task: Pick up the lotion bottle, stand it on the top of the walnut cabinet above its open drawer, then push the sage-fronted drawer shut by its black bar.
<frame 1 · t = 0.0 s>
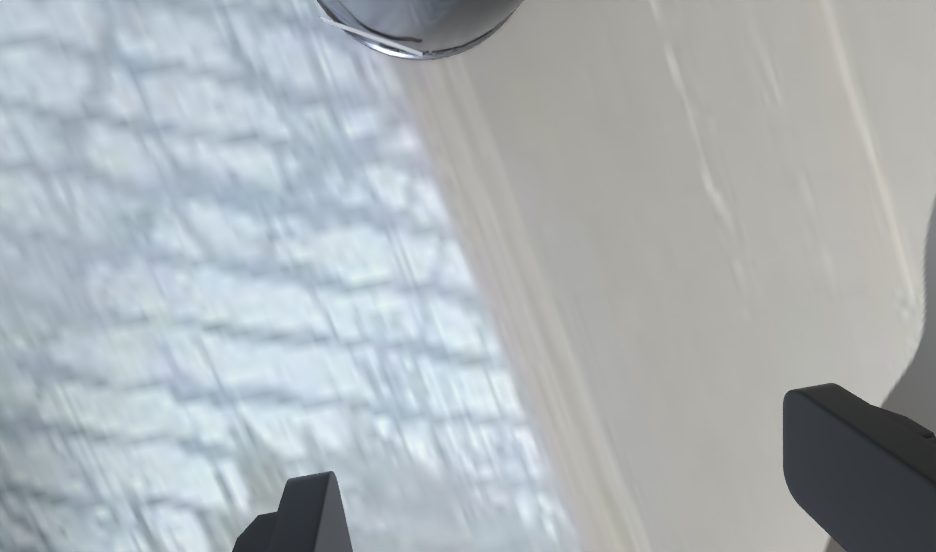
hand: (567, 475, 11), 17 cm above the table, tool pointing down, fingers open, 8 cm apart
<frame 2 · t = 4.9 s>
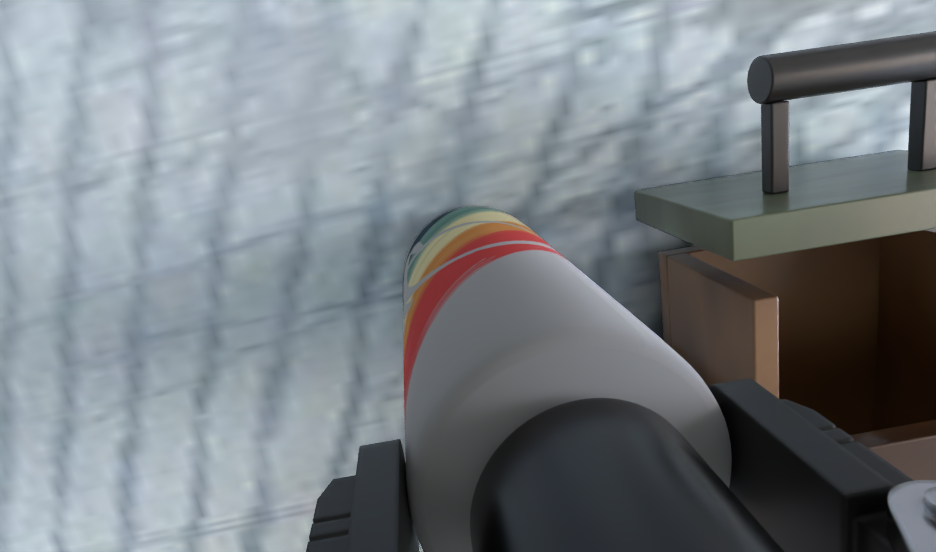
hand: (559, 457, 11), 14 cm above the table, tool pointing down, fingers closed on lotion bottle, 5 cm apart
cabinet: (759, 478, 29), on the table
lotion bottle: (472, 272, 25), on the table, touching gripper
drawer: (828, 308, 22), point 5 cm above the table, slide at 6.0 cm
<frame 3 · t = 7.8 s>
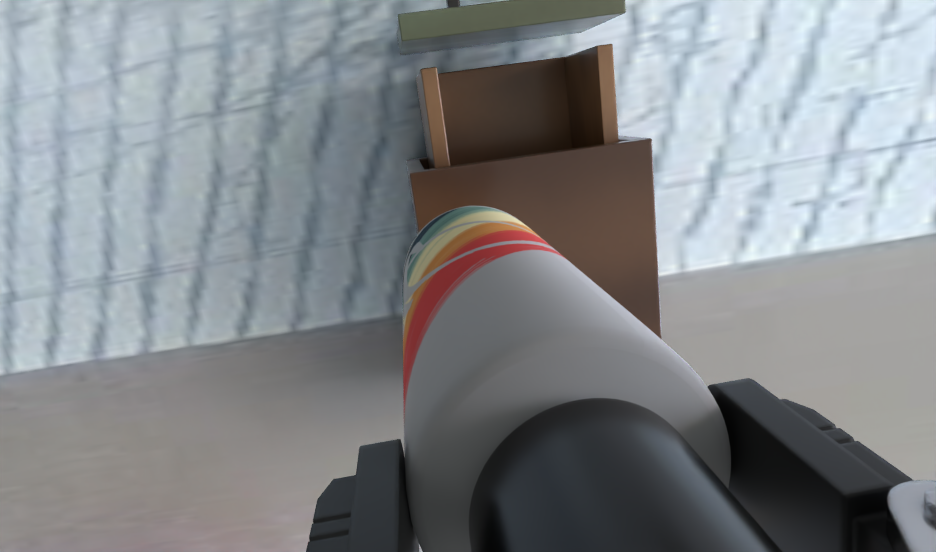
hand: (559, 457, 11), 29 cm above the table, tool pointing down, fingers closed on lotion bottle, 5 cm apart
cabinet: (513, 258, 41), on the table
lotion bottle: (472, 272, 25), point 15 cm above the table, touching gripper
drawer: (509, 103, 34), point 5 cm above the table, slide at 6.0 cm
when the fingers open (23 cm above the table, at t = 10.5 s): lotion bottle stays where it is, resting on cabinet.
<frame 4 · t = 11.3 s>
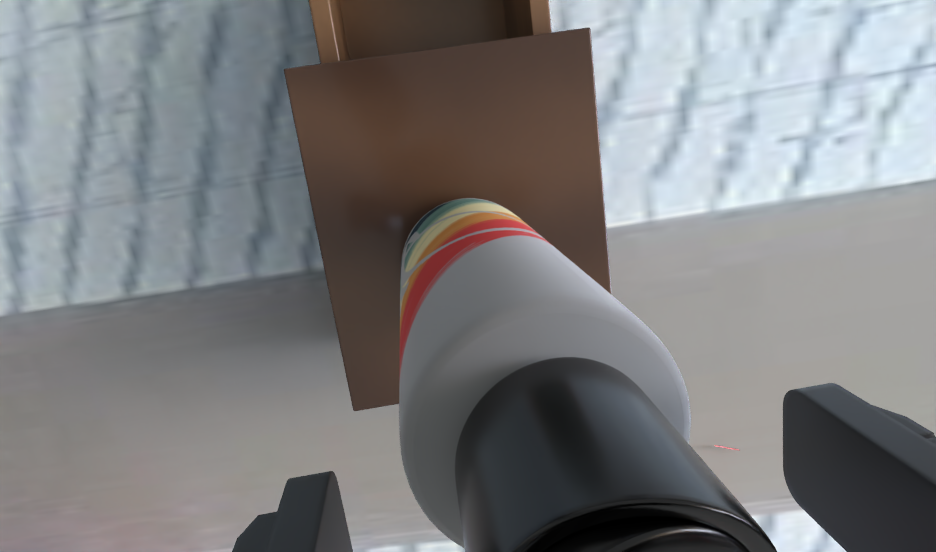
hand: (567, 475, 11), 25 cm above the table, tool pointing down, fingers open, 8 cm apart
cabinet: (449, 202, 35), on the table
lotion bottle: (467, 261, 26), point 9 cm above the table, touching cabinet
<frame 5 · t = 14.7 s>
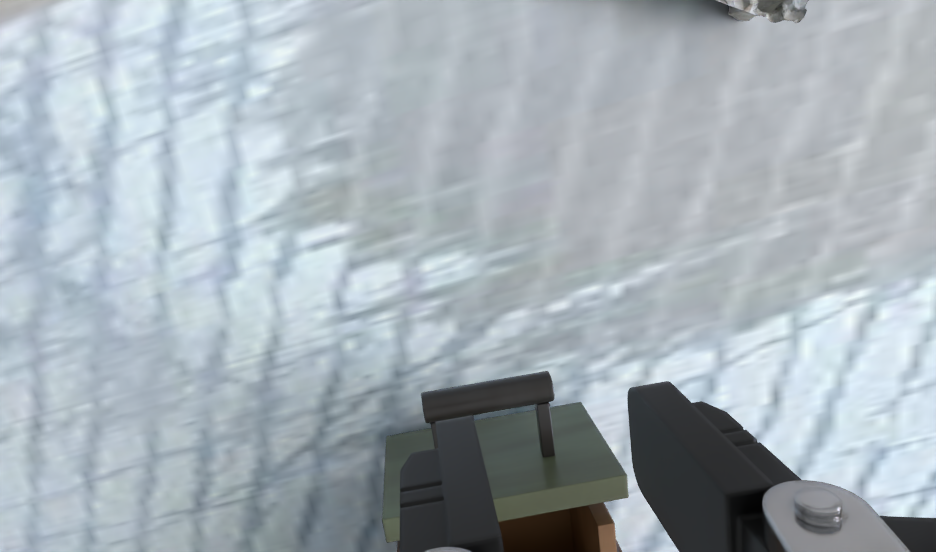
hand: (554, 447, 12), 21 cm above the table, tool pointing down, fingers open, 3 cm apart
drawer: (505, 533, 31), point 5 cm above the table, slide at 6.0 cm
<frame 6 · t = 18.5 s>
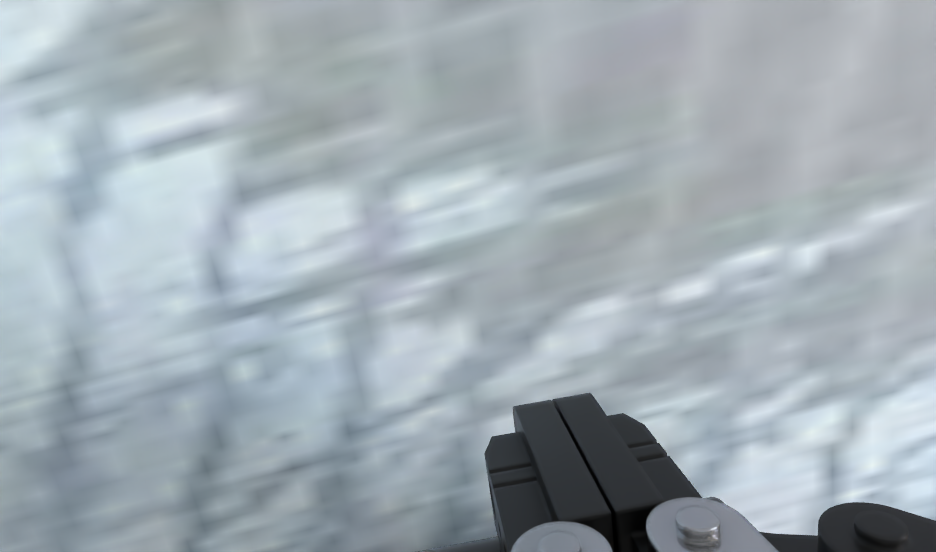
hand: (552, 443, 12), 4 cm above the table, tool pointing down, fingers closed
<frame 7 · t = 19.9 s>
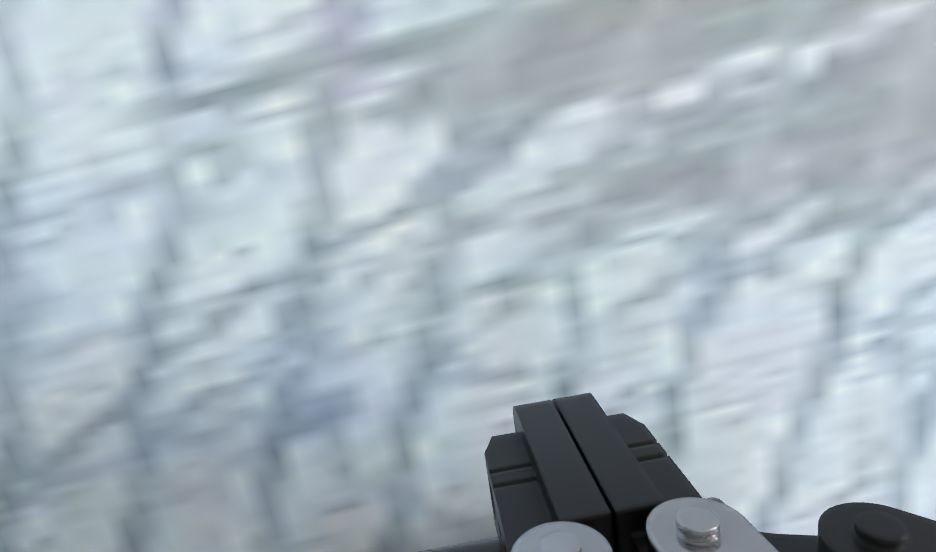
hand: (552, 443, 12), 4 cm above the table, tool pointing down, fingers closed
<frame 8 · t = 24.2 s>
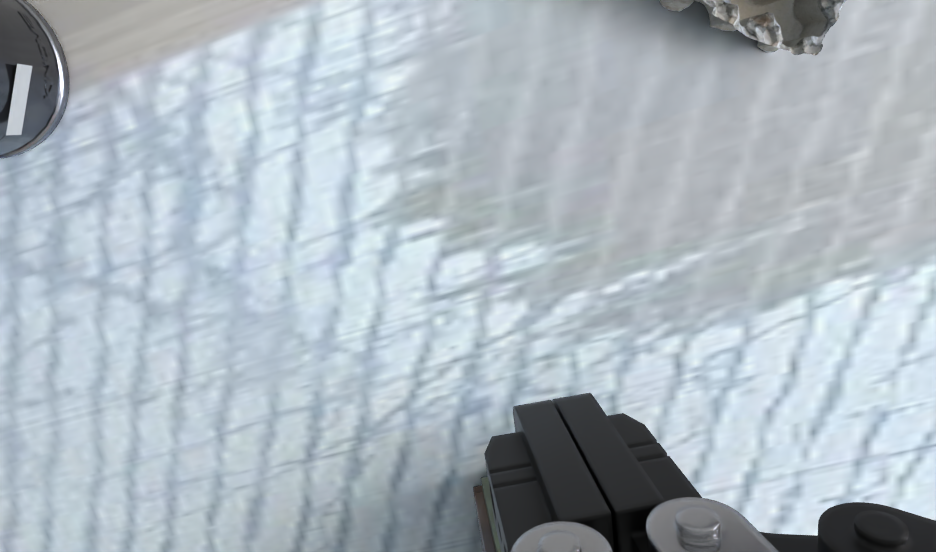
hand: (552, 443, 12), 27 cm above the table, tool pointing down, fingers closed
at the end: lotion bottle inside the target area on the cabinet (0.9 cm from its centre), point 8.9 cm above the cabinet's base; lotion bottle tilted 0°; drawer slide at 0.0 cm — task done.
